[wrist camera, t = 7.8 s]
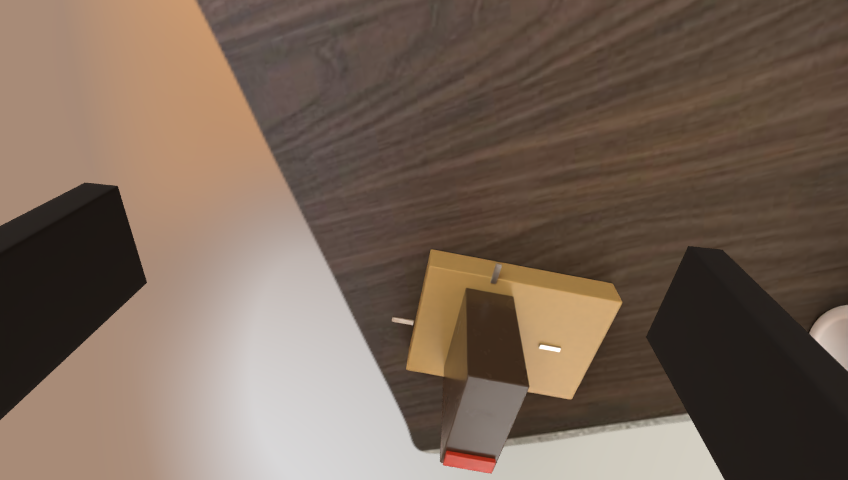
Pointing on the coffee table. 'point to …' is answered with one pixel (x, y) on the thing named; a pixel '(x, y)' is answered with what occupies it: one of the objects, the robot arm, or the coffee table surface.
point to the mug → (833, 333)
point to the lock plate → (536, 312)
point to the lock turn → (482, 381)
